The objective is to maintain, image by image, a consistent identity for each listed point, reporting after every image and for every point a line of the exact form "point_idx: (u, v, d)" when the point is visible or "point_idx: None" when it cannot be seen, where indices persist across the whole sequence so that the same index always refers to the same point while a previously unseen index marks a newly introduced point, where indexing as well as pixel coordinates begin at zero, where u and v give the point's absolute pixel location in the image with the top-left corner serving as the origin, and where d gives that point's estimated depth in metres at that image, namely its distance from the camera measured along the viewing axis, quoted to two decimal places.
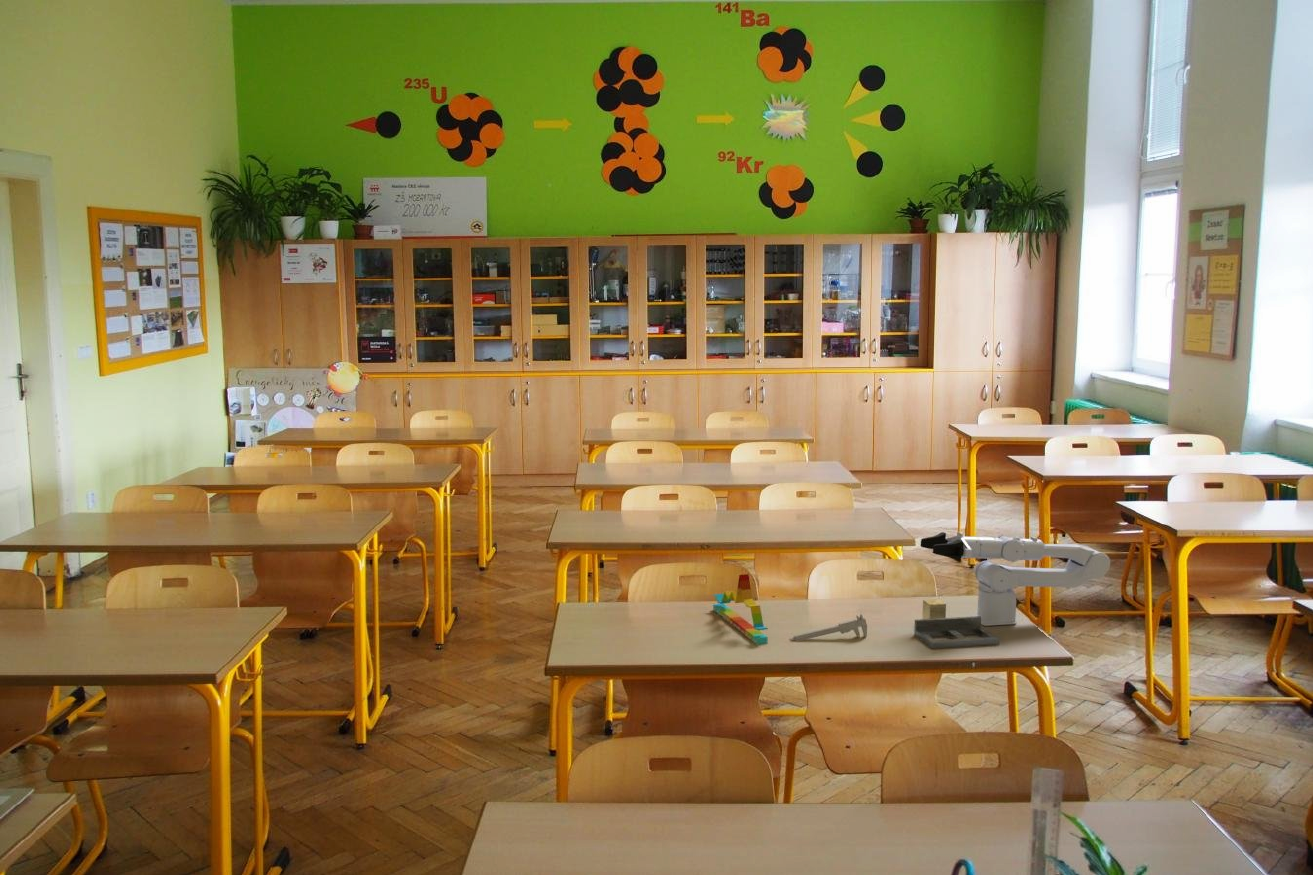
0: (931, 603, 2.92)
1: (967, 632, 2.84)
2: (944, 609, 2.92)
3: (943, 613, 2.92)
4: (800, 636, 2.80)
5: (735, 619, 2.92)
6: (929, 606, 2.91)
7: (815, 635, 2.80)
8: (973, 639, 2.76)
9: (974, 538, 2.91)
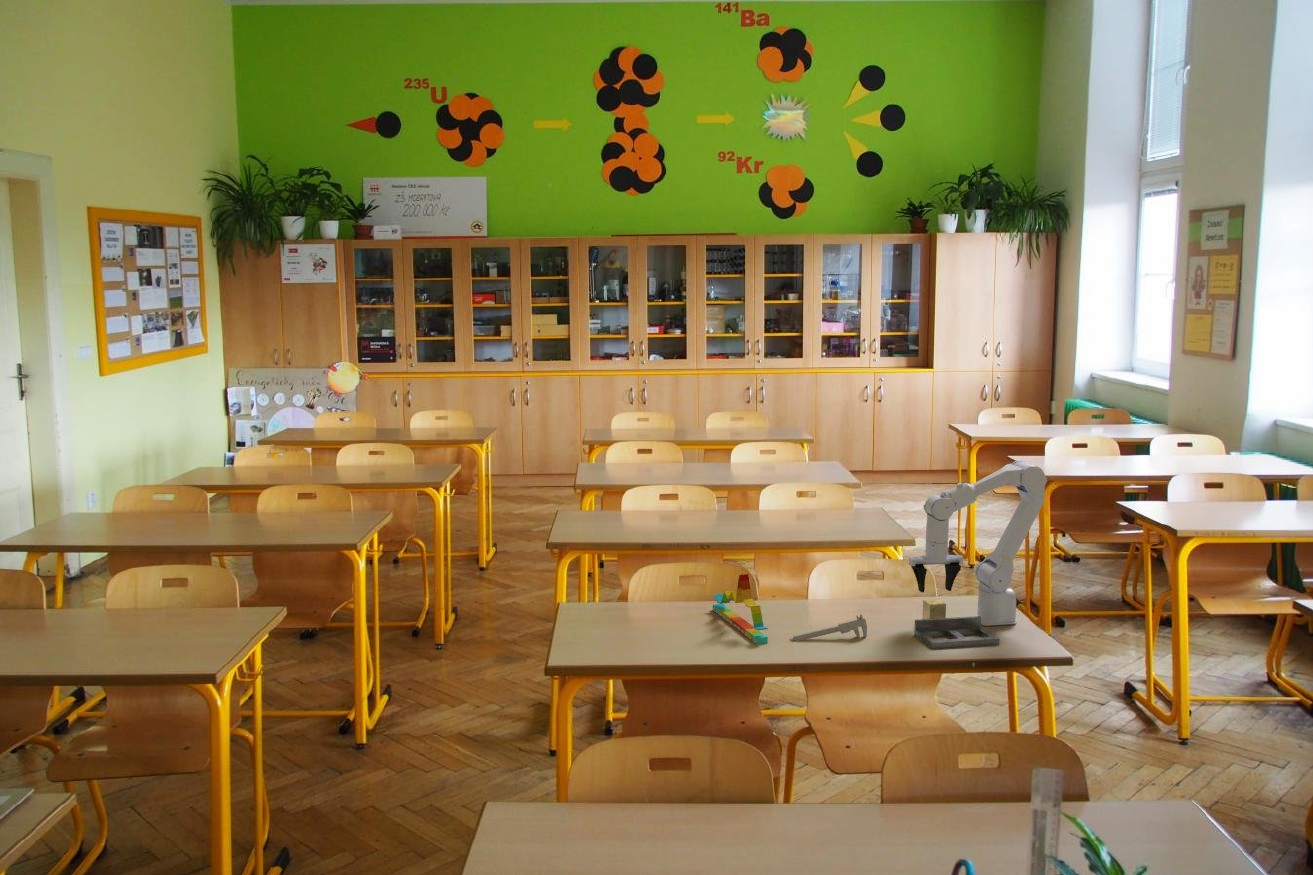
0: (931, 603, 2.92)
1: (967, 632, 2.84)
2: (944, 609, 2.92)
3: (943, 613, 2.92)
4: (800, 636, 2.80)
5: (735, 619, 2.92)
6: (929, 606, 2.91)
7: (815, 635, 2.80)
8: (973, 639, 2.76)
9: None
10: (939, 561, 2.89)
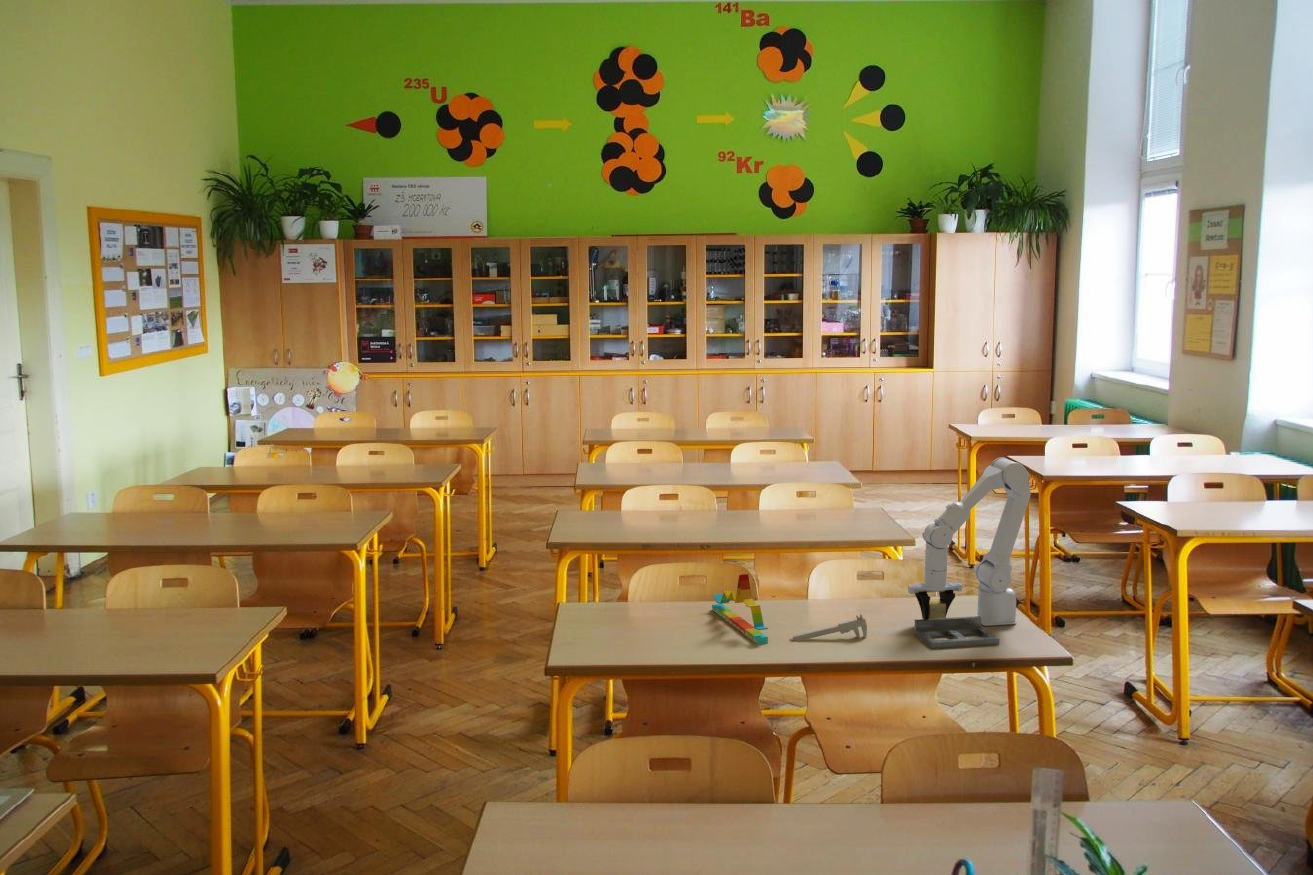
0: (931, 603, 2.92)
1: (967, 632, 2.84)
2: (944, 609, 2.92)
3: (943, 613, 2.92)
4: (800, 636, 2.80)
5: (734, 619, 2.92)
6: (929, 606, 2.91)
7: (815, 635, 2.80)
8: (973, 639, 2.76)
9: None
10: (938, 589, 2.90)
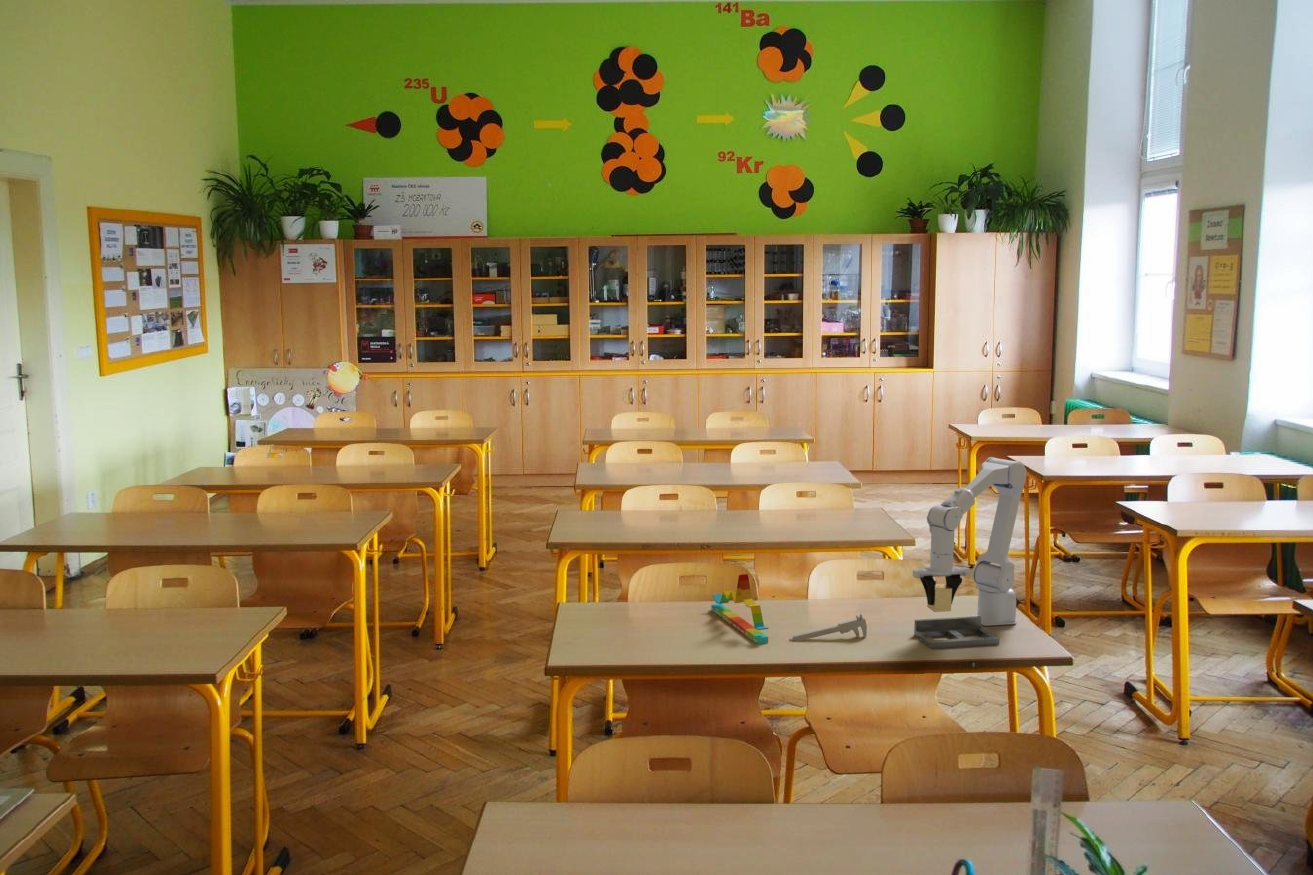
0: (936, 588, 2.81)
1: (967, 632, 2.84)
2: (950, 594, 2.81)
3: (949, 598, 2.81)
4: (800, 636, 2.80)
5: (734, 619, 2.92)
6: (934, 591, 2.80)
7: (815, 635, 2.80)
8: (973, 639, 2.76)
9: None
10: (944, 573, 2.79)
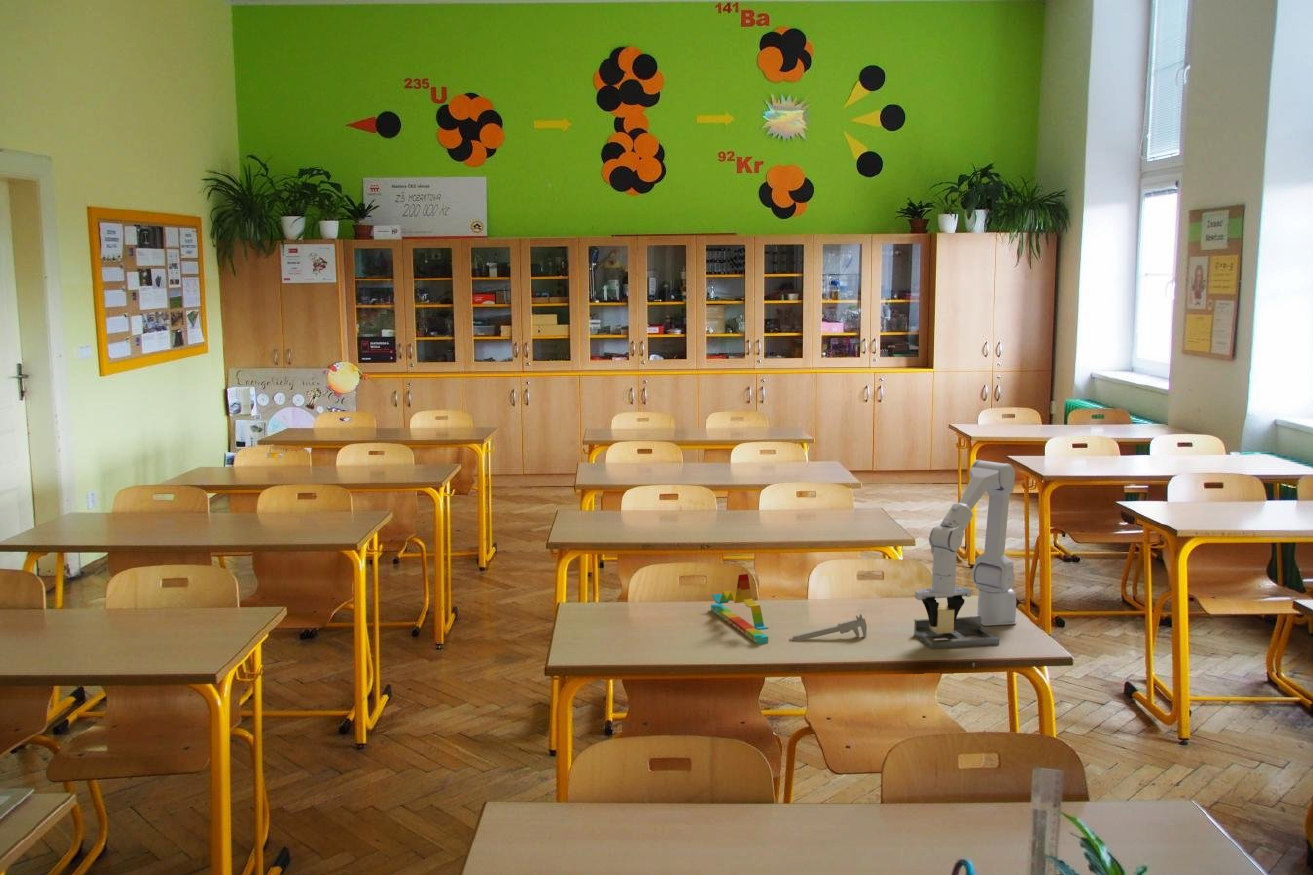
0: (939, 609, 2.77)
1: (967, 632, 2.84)
2: (952, 615, 2.77)
3: (951, 619, 2.77)
4: (800, 636, 2.80)
5: (734, 619, 2.92)
6: (937, 612, 2.77)
7: (815, 635, 2.80)
8: (973, 639, 2.76)
9: None
10: (947, 595, 2.75)
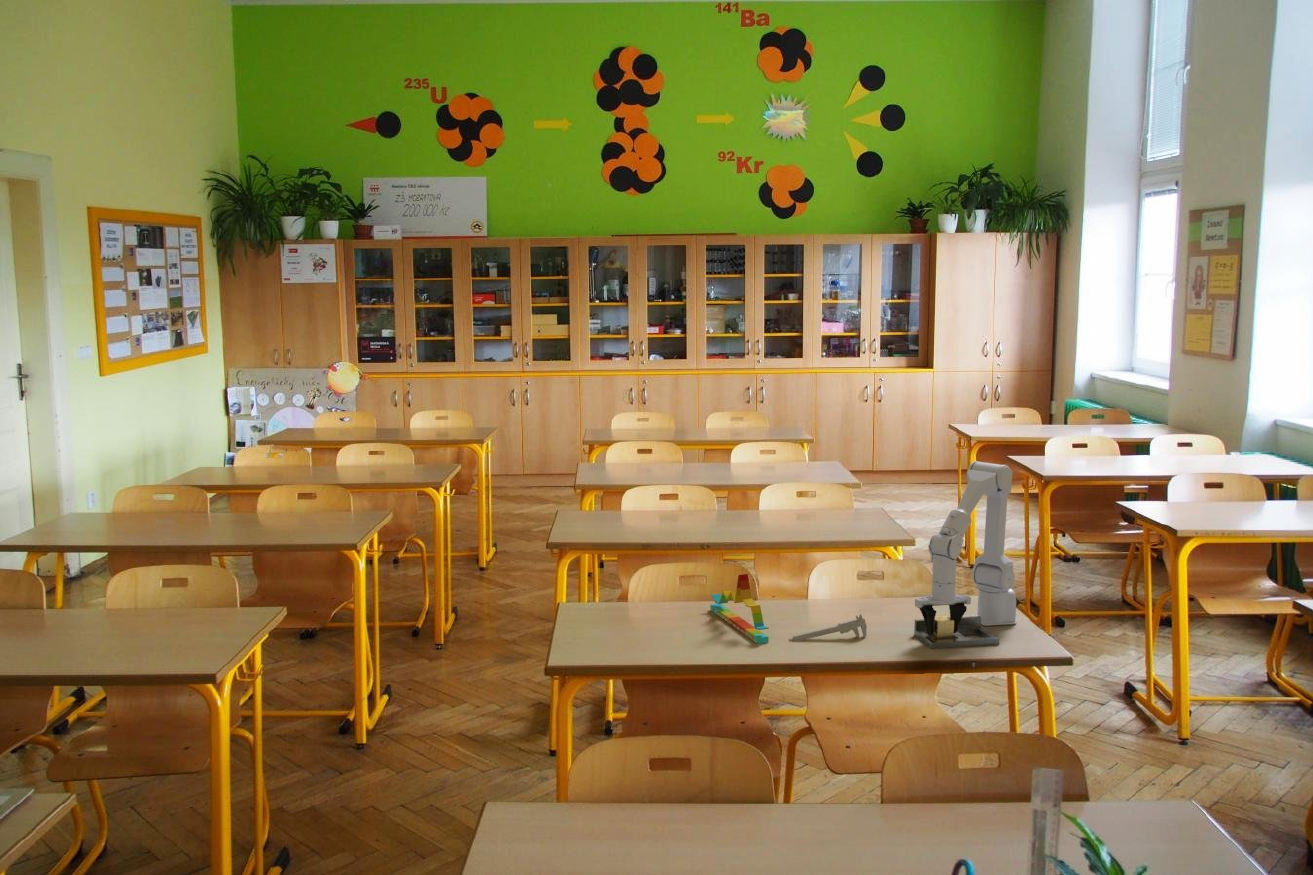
0: (938, 620, 2.78)
1: (967, 632, 2.84)
2: (952, 626, 2.78)
3: (951, 630, 2.78)
4: (799, 636, 2.80)
5: (734, 619, 2.92)
6: (937, 623, 2.77)
7: (814, 635, 2.80)
8: (973, 639, 2.76)
9: None
10: (947, 602, 2.75)
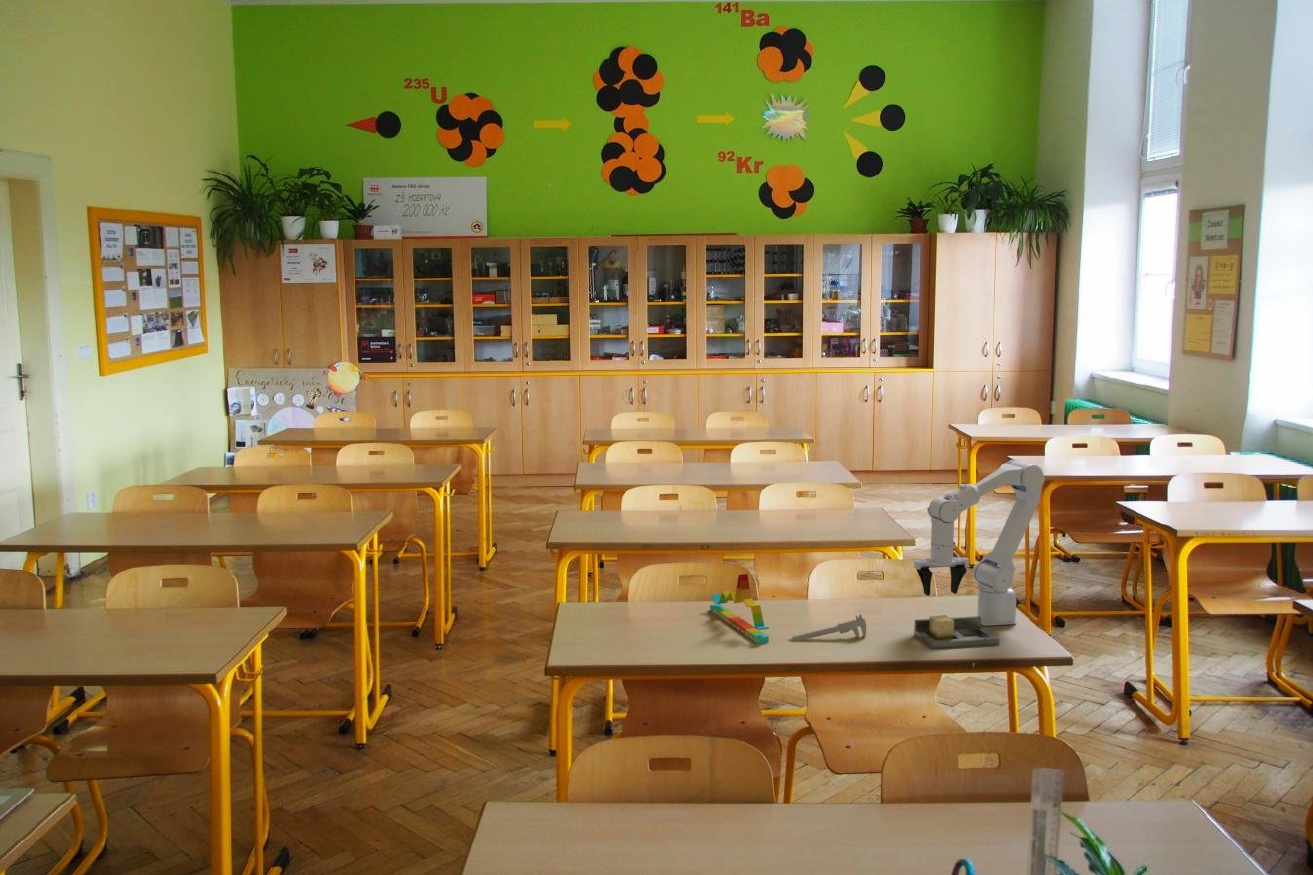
0: (938, 620, 2.78)
1: (967, 632, 2.84)
2: (952, 626, 2.78)
3: (951, 630, 2.78)
4: (799, 636, 2.80)
5: (734, 619, 2.92)
6: (937, 623, 2.77)
7: (814, 635, 2.80)
8: (973, 639, 2.76)
9: None
10: (945, 564, 2.86)
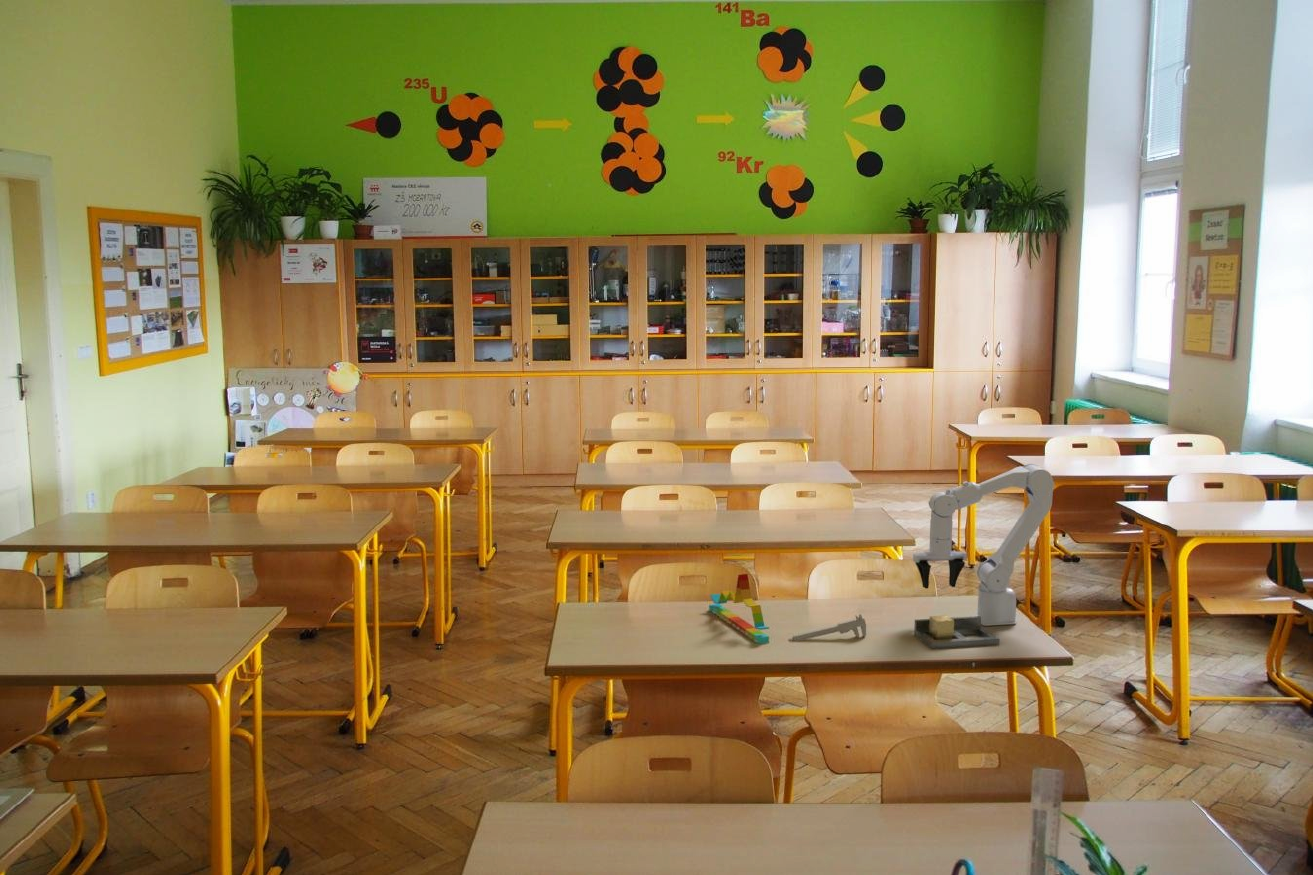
0: (938, 620, 2.78)
1: (967, 632, 2.84)
2: (952, 626, 2.78)
3: (951, 630, 2.78)
4: (799, 636, 2.80)
5: (733, 619, 2.92)
6: (937, 623, 2.77)
7: (814, 635, 2.80)
8: (973, 639, 2.76)
9: None
10: (943, 557, 2.91)
